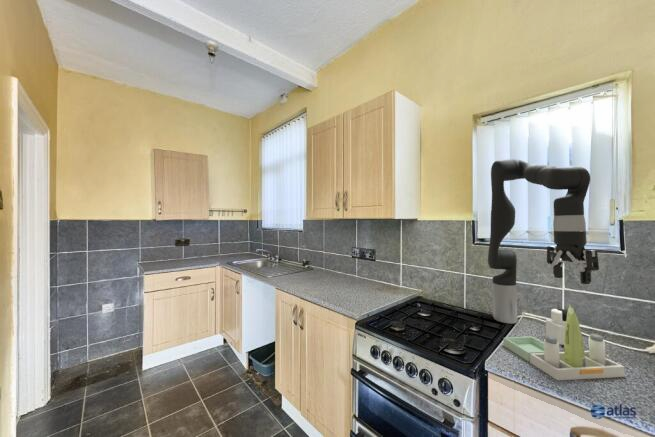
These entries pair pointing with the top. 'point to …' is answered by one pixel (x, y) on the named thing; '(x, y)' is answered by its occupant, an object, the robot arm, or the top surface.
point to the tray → (524, 346)
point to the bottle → (551, 351)
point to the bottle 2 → (597, 349)
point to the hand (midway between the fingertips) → (571, 280)
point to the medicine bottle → (557, 325)
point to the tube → (573, 341)
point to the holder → (578, 368)
